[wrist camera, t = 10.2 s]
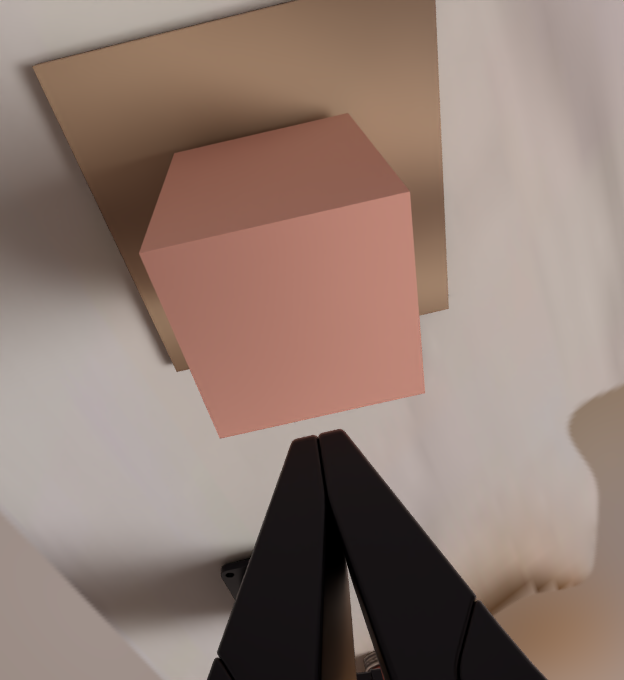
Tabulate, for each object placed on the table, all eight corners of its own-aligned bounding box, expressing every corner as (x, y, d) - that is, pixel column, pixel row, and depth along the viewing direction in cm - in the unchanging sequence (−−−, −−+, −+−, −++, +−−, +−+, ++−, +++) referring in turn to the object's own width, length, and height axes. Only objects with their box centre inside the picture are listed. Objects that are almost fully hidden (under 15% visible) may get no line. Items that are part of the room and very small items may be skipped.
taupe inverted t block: (444, 301, 20) (523, 428, 15) (177, 363, 21) (155, 511, 15) (428, -33, 14) (560, -37, 8) (37, 63, 14) (-97, 124, 8)
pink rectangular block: (369, 268, 18) (424, 393, 13) (225, 300, 18) (220, 438, 13) (348, 113, 15) (409, 191, 9) (174, 153, 15) (138, 253, 10)
